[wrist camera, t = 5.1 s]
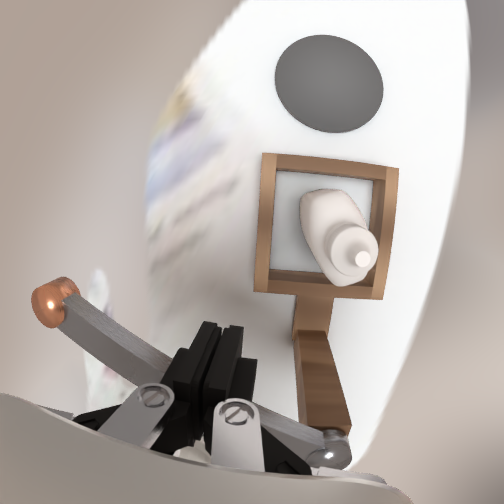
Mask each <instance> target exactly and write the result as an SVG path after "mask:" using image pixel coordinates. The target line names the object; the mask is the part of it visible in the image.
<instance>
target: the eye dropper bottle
mask: <svg viewBox="0 0 504 504" xmlns="http://www.w3.org/2000/svg"><path fill="white" fill-rule="evenodd" d="M300 222H301V227H302V231H303V234H304V237H305V239H306V242H307V244H308V246H309V247H310V249H311V251H312V253H313V255H314V257H315V259H316V261H317V263H318V264H319V266H320V268H321V270H322V271H323V273H324V274H325V276H326V277H327V278H328V279H329V280H330V281H331V282H332V283H333V284H334V285H336V286H342V287H343V286H347V285H350V284H354V283H357V282H359V281H361V280H363V279H364V278H365V276H366V275H367V272H368V271H369V270H370V269H372V267H373V265H374V264H375V262H376V260H377V257H378V250H379V249H378V244H377V241H376V239H375V237H374V235H373V234H372V233H371V232H370V231H369V230H368V228H367V225H366V222H365V220H364V218H363V216H362V214H361V212H360V210H359V208H358V207H357V205H356V204H355V202H354V201H353V200H352V199H351V197H350V196H349V195H348V194H347V193H345V192H344V191H342V190H337V189H319V190H315V191H312V192H309V193H306V194H304V195H303V196H302V198H301V201H300Z"/></svg>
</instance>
